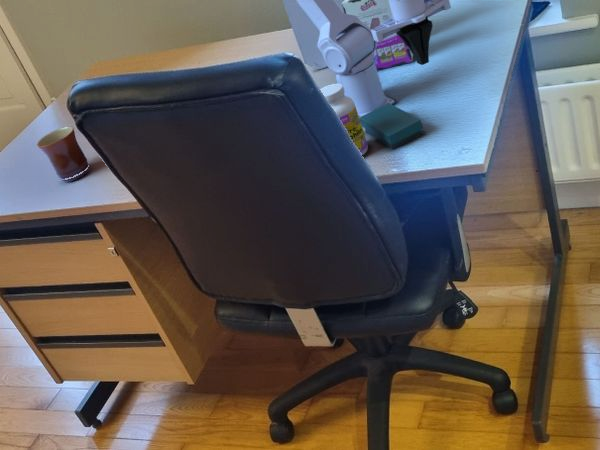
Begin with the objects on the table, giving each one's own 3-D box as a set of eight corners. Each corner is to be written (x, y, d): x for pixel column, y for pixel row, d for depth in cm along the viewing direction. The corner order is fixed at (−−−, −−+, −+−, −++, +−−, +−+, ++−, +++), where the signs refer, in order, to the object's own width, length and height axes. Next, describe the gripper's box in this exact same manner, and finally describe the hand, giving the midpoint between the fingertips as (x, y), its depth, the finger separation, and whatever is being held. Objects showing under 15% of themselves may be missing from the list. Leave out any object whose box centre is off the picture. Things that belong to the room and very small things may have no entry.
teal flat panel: (363, 131, 145) (358, 117, 143) (393, 116, 146) (388, 102, 144) (393, 151, 134) (388, 136, 133) (425, 134, 135) (421, 119, 134)
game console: (422, 40, 174) (398, -47, 165) (308, 73, 182) (279, -8, 172) (421, 31, 179) (398, -53, 169) (310, 64, 186) (282, -16, 177)
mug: (101, 167, 176) (79, 127, 171) (69, 188, 172) (46, 148, 167) (77, 161, 185) (56, 123, 180) (46, 181, 181) (24, 143, 176)
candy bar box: (415, 53, 169) (395, -20, 161) (413, 62, 165) (392, -12, 157) (367, 64, 173) (344, -6, 165) (363, 74, 169) (340, 2, 161)
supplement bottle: (345, 167, 135) (322, 102, 129) (327, 158, 141) (304, 95, 134) (376, 149, 137) (354, 84, 131) (357, 141, 142) (335, 77, 136)
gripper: (375, 10, 127) (397, 84, 133) (451, -26, 129) (469, 49, 136) (358, 4, 133) (380, 75, 140) (430, -30, 135) (449, 42, 142)
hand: (423, 62), depth 138 cm, fingers closed
